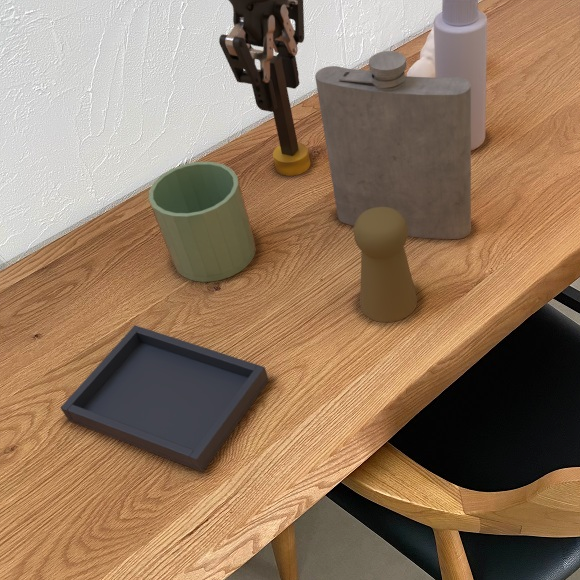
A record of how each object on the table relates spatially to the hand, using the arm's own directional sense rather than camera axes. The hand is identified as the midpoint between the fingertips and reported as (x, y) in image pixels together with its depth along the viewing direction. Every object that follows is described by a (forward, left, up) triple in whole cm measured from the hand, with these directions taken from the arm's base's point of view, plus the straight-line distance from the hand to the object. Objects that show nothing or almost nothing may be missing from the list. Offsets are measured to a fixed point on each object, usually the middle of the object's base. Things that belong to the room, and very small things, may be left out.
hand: (279, 97), depth 93 cm
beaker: (0, -18, -9) cm, 20 cm away
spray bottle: (+18, +12, -10) cm, 24 cm away
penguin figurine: (+10, +24, -10) cm, 28 cm away
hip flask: (+18, -6, -10) cm, 21 cm away
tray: (+8, -38, -9) cm, 40 cm away
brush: (0, 0, -9) cm, 9 cm away
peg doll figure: (+22, -18, -10) cm, 30 cm away
